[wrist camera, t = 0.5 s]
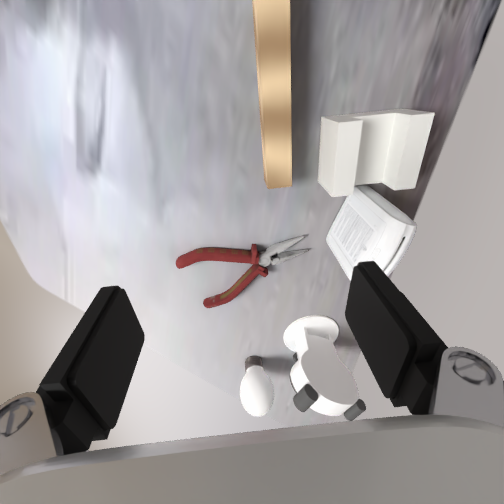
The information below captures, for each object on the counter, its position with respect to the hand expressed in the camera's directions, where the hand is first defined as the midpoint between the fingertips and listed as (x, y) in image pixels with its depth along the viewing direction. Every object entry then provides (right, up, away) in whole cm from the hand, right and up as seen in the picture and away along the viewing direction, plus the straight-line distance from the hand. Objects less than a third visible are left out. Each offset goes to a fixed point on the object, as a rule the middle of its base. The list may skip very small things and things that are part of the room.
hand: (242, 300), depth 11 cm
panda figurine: (+12, -15, +43) cm, 47 cm away
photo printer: (+15, +7, +29) cm, 33 cm away
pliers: (-1, -1, +33) cm, 33 cm away
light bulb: (+1, -22, +46) cm, 51 cm away
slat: (+2, +24, +17) cm, 29 cm away
